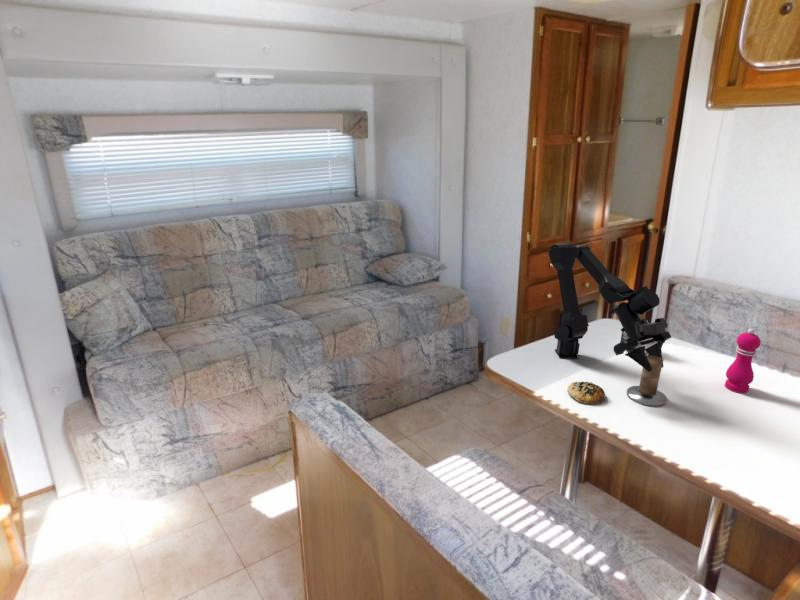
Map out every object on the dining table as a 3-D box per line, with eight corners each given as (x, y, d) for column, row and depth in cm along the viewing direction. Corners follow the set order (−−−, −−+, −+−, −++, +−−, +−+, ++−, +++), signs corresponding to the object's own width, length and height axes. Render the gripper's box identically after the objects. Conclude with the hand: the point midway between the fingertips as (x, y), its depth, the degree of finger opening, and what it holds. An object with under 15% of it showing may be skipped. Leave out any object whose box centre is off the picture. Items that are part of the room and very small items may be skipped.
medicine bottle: (619, 345, 193) (624, 315, 189) (637, 345, 194) (643, 314, 190) (629, 354, 187) (635, 322, 183) (648, 353, 188) (654, 322, 184)
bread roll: (611, 395, 159) (612, 380, 157) (595, 413, 152) (595, 398, 150) (576, 383, 166) (576, 370, 164) (559, 400, 159) (559, 386, 157)
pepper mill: (748, 385, 166) (764, 326, 160) (751, 396, 160) (768, 335, 153) (721, 380, 169) (736, 322, 162) (724, 390, 163) (739, 330, 156)
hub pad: (636, 406, 153) (636, 404, 153) (620, 387, 163) (620, 385, 163) (673, 406, 153) (674, 404, 153) (655, 388, 163) (656, 385, 163)
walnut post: (638, 394, 156) (645, 360, 153) (638, 386, 161) (644, 353, 157) (656, 397, 155) (663, 363, 151) (655, 389, 159) (662, 356, 155)
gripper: (628, 314, 148) (655, 366, 143) (672, 304, 157) (698, 353, 151) (602, 330, 158) (626, 379, 152) (644, 320, 166) (669, 366, 161)
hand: (656, 369), depth 154 cm, fingers closed on walnut post, 5 cm apart
